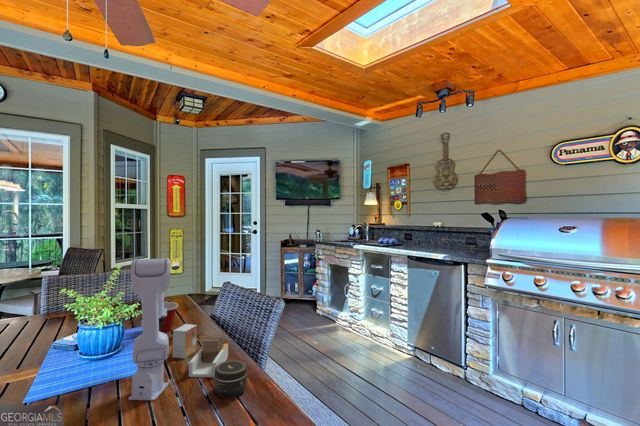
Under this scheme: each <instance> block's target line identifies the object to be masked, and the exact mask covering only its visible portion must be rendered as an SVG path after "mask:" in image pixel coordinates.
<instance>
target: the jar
mask: <svg viewBox="0 0 640 426" xmlns="http://www.w3.org/2000/svg"><path fill="white" fill-rule="evenodd" d="M247 374H248V366H247V364H246V363H245V362H244V361H241V360H236V359H235V360H234V359H233V360H231V359H230V360H226V361H225V362H222V363H220V364H218V365H217V366H216V368H215V374H214V377H213V378H214V392H215V394H216V395H217V396H218V397H219V398H223V399H233V398H235V397H240V396H241V395H242V394H243V393H244V392H245V390H246V387H247V383H248V382H247V381H248V380H247V378H248V376H247Z"/></svg>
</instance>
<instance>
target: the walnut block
mask: <svg viewBox="0 0 640 426" xmlns="http://www.w3.org/2000/svg"><path fill="white" fill-rule="evenodd" d="M222 344H223V335H207V336H206V337H205V338H204V339H203V341H202V346H203V362H213V361H214V359H215V358H216V357H217V355H218V354H219V352H220V351H221V349H222Z"/></svg>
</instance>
